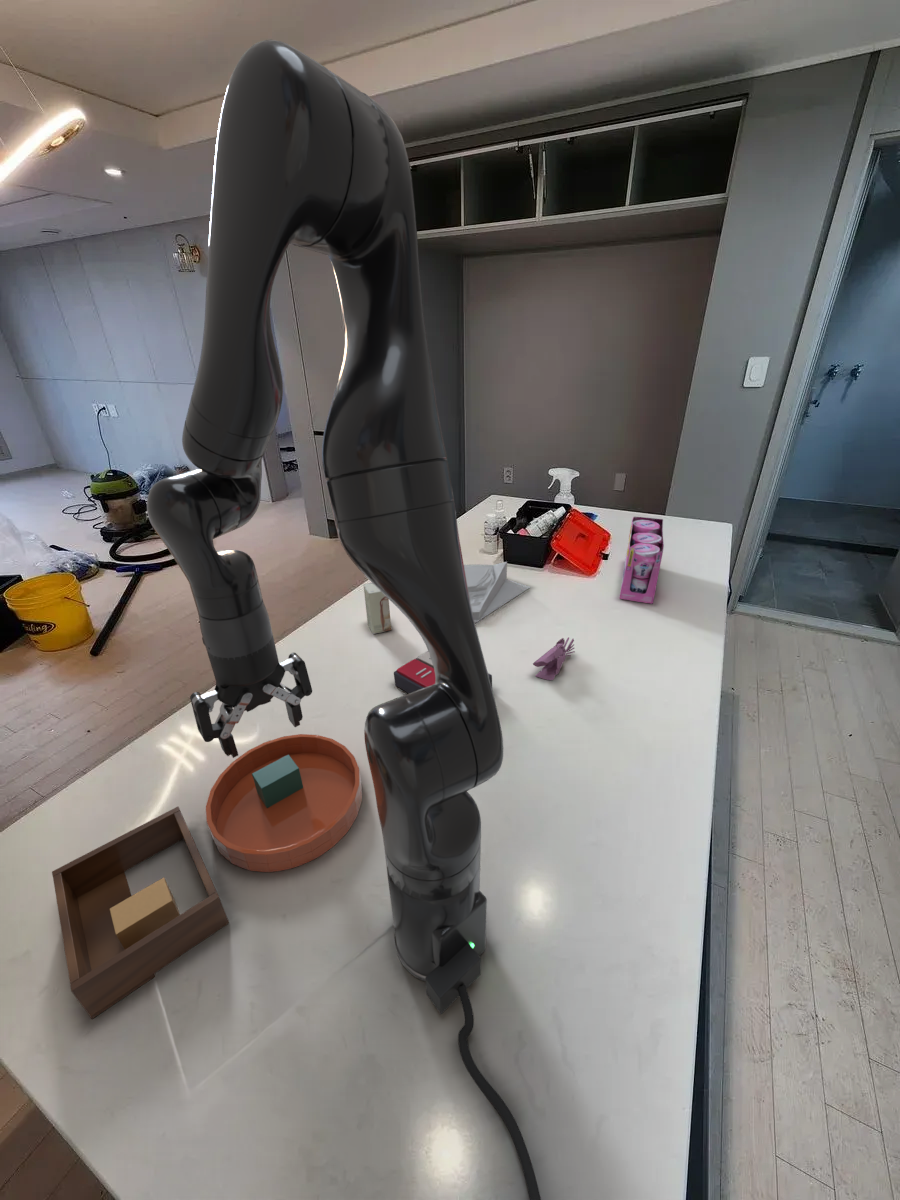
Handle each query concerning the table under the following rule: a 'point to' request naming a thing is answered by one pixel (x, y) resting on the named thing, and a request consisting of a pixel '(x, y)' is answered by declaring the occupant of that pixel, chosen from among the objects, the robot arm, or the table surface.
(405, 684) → the red and grey box
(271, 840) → the bowl
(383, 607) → the pale green tall box
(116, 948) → the holder
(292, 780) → the teal rectangular block
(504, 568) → the ramp
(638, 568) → the gum box
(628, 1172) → the table surface
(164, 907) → the tan rectangular block
